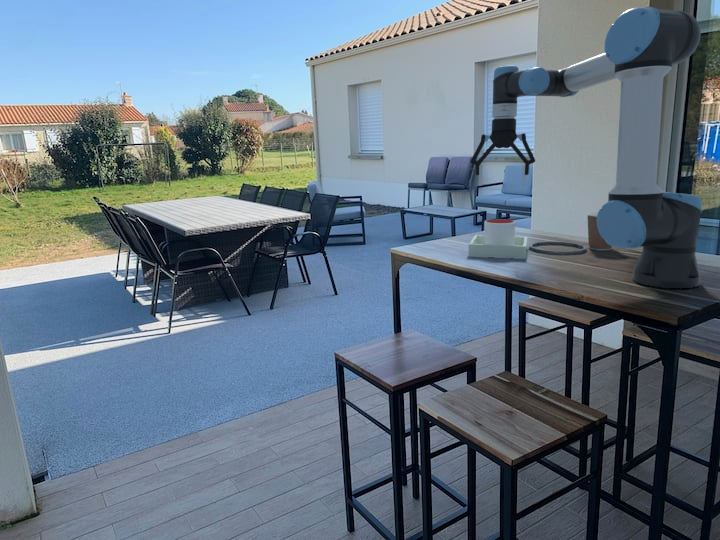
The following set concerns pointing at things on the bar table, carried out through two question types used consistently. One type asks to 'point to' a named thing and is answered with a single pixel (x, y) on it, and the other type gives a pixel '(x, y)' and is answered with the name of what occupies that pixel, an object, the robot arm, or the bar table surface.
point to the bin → (498, 248)
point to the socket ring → (582, 250)
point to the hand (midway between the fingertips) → (501, 185)
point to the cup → (499, 232)
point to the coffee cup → (595, 234)
